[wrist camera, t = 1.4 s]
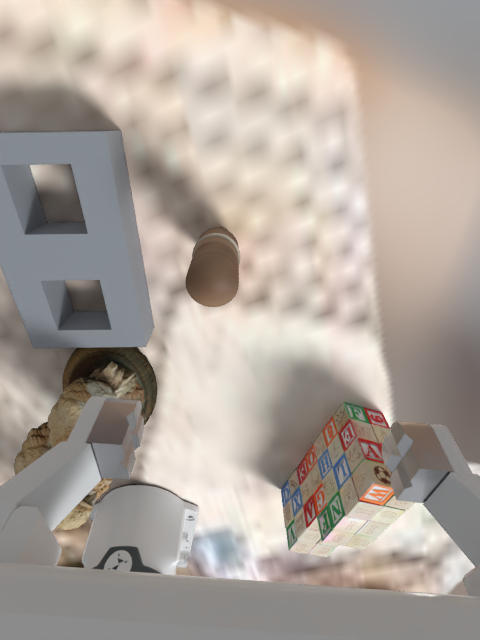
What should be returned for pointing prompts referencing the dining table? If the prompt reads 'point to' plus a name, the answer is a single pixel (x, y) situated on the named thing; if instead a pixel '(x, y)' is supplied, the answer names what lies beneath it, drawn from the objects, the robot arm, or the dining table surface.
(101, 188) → the two-hole board
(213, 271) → the walnut peg
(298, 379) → the dining table surface
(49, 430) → the beige rough lumpy piece
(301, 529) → the stack of blocks
